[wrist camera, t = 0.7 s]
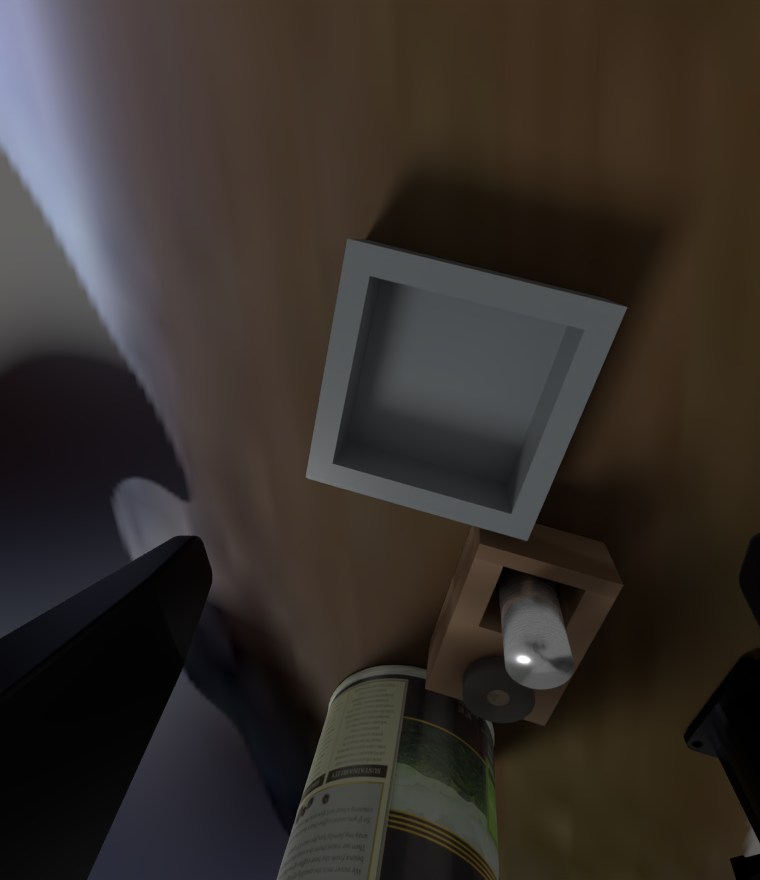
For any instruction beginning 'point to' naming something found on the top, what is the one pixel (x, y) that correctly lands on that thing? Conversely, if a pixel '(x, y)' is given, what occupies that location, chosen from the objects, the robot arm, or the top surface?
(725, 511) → the top surface
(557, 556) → the block
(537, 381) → the pin tray
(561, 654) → the pin
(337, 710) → the coffee can
